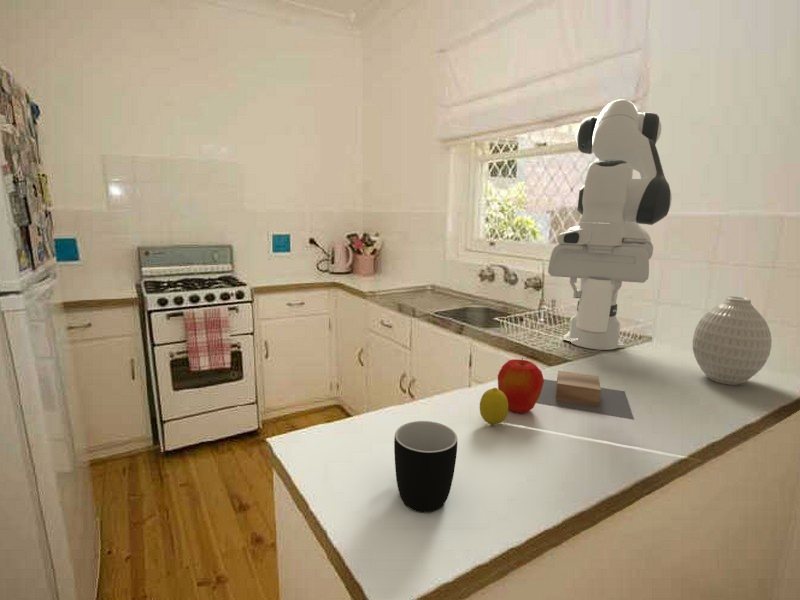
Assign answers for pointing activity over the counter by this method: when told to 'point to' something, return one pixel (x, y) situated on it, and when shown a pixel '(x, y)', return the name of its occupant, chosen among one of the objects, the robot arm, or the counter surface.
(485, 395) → the lemon
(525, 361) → the apple
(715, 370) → the vase
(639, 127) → the robot arm
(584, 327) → the can
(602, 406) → the mat
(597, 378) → the plinth
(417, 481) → the mug
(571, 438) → the counter surface
